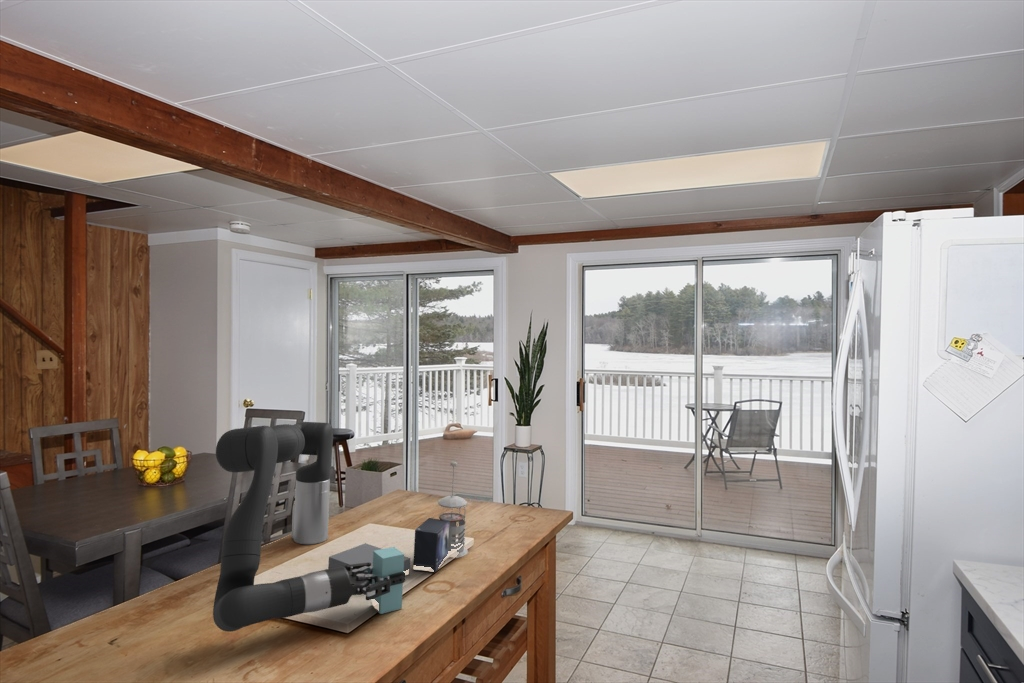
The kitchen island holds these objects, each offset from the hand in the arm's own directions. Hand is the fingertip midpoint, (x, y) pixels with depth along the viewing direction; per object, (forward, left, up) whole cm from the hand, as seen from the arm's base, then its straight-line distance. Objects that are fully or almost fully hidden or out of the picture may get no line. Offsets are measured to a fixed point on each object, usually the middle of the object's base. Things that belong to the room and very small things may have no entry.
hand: (398, 572), depth 132 cm
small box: (-9, +22, -7) cm, 24 cm away
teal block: (-1, -2, -7) cm, 7 cm away
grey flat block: (-17, +8, -7) cm, 20 cm away
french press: (-11, +33, -7) cm, 35 cm away
